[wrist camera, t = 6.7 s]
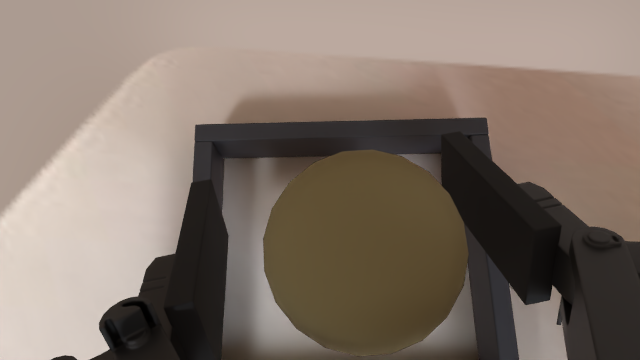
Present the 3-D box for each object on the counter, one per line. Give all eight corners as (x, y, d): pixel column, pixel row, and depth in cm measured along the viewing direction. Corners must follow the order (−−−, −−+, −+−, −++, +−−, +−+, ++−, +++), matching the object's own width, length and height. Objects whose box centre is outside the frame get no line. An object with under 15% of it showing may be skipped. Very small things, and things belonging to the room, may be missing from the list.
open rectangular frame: (195, 435, 19) (177, 454, 16) (208, 143, 22) (195, 124, 20) (504, 426, 19) (531, 443, 16) (468, 137, 22) (486, 117, 20)
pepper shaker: (310, 189, 22) (301, 79, 11) (428, 238, 21) (538, 170, 10) (256, 309, 20) (187, 314, 10) (382, 365, 20) (457, 438, 9)
